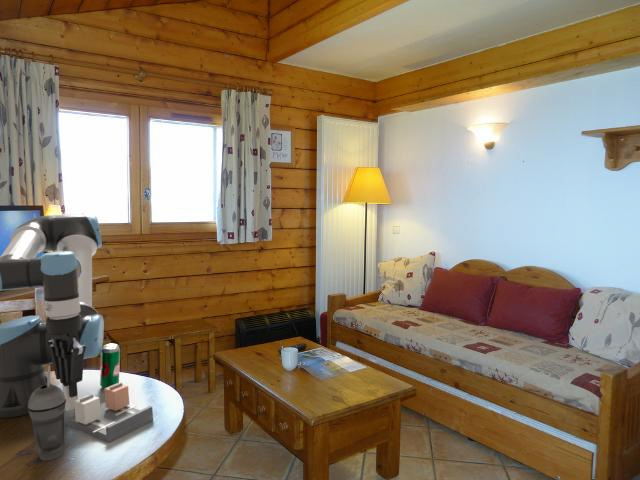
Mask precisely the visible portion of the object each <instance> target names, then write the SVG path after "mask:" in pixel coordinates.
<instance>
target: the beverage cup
mask: <svg viewBox="0 0 640 480" xmlns="http://www.w3.org/2000/svg"><path fill="white" fill-rule="evenodd" d="M50 382H51V365H47V385H43V386H41V387H39V388H37V389H36V390H35V391H34V392H33V393H32V394H31V396H30V399H29V402H28V411H29V417H30V419H31V423H32V429H33V432H34V438H35V442H36V446H37V452H38V454H39V459H40V460H41V461H44V462H46V461H47V462H48V461H52V460H56V459H58V458H60V457H62V456H63V454H64V449H65V448H64V447H65V411H66V410H65V402H66V398H65V395H64V393H63V389H61V388H60V387H59V386H57V385H54V384H52V385H50Z"/></svg>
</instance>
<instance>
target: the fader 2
mask: <svg viewBox="0 0 640 480" xmlns="http://www.w3.org/2000/svg"><path fill="white" fill-rule="evenodd" d="M103 389H104V400H105V402H104V403H106V408H109V409H111V410H114V411H117V410H119V409H121V408H123V407H125V406H130V397H129V396H130V395H129V385H126V384H123V382H119V383H117V384H114V385H112V386H109V387H107V388H103Z"/></svg>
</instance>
